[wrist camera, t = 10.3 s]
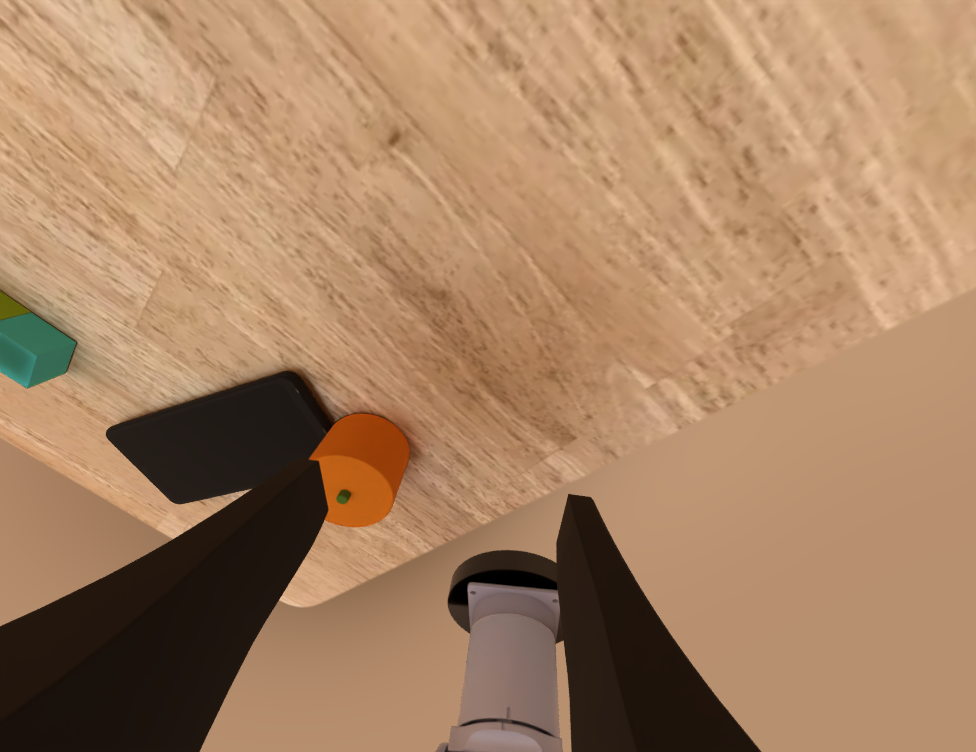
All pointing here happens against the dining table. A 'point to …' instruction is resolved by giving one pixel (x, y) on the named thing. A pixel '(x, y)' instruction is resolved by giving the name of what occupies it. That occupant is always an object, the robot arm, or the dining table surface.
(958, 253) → the dining table surface
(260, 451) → the smartphone
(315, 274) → the dining table surface
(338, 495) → the mandarin
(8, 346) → the chart
